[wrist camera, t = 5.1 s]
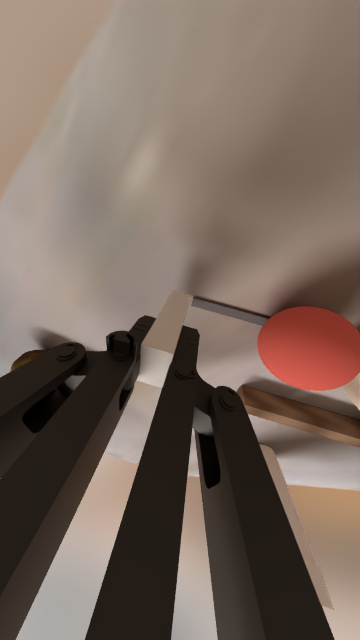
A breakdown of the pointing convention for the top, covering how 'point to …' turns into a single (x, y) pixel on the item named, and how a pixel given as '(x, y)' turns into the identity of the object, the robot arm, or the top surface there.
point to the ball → (310, 348)
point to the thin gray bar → (229, 311)
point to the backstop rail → (301, 416)
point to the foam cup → (297, 526)
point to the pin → (353, 390)
